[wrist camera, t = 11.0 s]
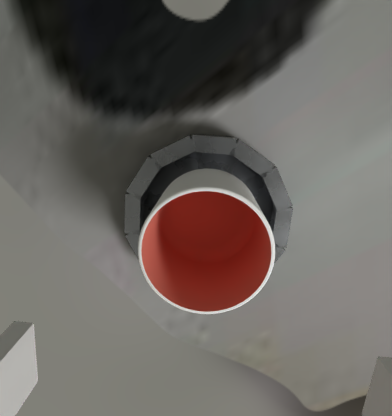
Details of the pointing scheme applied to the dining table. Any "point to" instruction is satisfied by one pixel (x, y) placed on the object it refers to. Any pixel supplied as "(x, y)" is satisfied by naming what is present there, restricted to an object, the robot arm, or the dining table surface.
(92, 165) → the dining table surface
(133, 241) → the ring coaster
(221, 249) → the cup
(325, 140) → the dining table surface
